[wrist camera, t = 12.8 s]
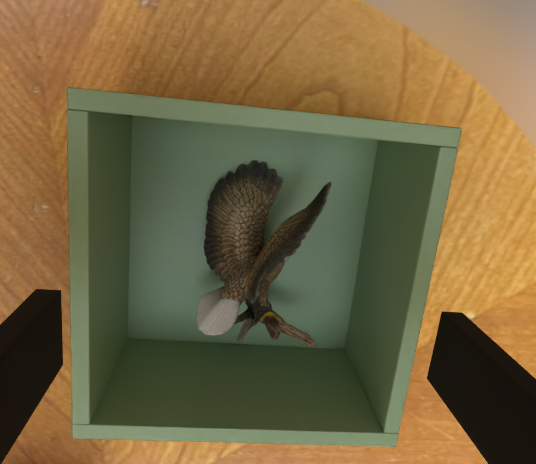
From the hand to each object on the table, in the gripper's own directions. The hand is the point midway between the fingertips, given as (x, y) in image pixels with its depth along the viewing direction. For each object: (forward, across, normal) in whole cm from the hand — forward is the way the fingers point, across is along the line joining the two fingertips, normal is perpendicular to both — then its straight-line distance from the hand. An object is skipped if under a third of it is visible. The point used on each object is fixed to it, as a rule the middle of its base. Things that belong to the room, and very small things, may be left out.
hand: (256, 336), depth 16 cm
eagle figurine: (+12, +1, 0) cm, 12 cm away
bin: (+13, 0, 0) cm, 13 cm away
